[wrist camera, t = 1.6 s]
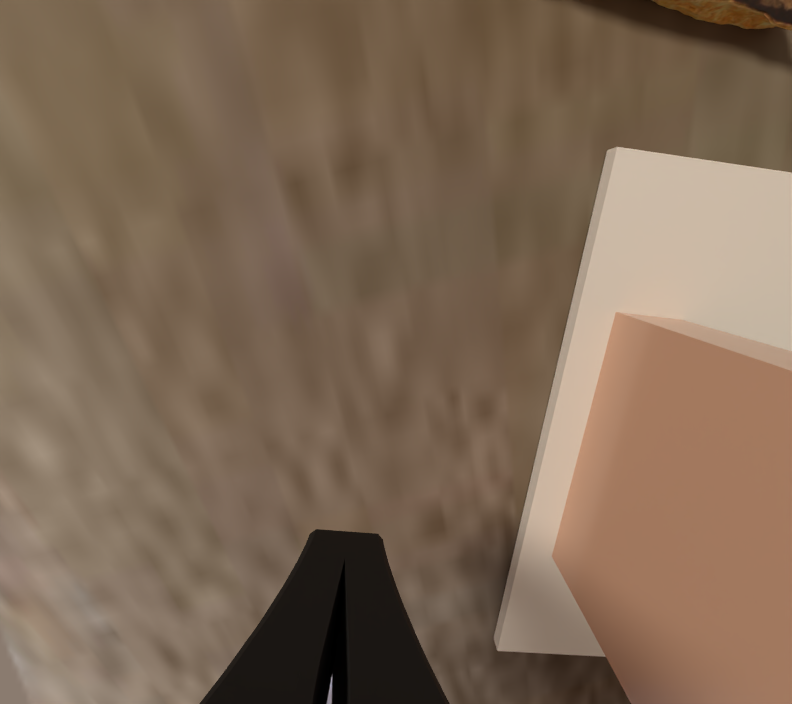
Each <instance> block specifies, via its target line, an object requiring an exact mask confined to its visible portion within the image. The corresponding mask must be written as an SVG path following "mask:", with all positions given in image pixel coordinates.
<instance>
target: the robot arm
mask: <svg viewBox="0 0 792 704" xmlns="http://www.w3.org/2000/svg"><path fill="white" fill-rule="evenodd" d="M200 704H449V702H448V700H447V698H446V696H445V694H444V692H443V690H442V688H441V686H440V684H439V682H438V680H437V678H436V676H435V674H434V672H433V670H432V668H431V666H430V664H429V662H428V660H427V658H426V656H425V654H424V651H423V649H422V647H421V645H420V643H419V640H418V638H417V636H416V634H415V631H414V629H413V626H412V624H411V622H410V619H409V617H408V615H407V612H406V610H405V608H404V605H403V603H402V600H401V597H400V595H399V592H398V589H397V587H396V584H395V581H394V578H393V575H392V572H391V569H390V566H389V563H388V559H387V556H386V552H385V548H384V544H383V539H382V538H381V537H380V536H379V534H372V533H359V532H345V531H332V530H318V529H316V530H315V531H313V532H312V533H311V534H310V535H309V538H308V540H307V543H306V545H305V547H304V549H303V551H302V553H301V555H300V557H299V559H298V561H297V563H296V565H295V566H294V568H293V570H292V572H291V573H290V575H289V577H288V579H287V580H286V582H285V584H284V585H283V587H282V589H281V590H280V592H279V593H278V595H277V596H276V598H275V599H274V601H273V603H272V604H271V606H270V607H269V609H268V610H267V612H266V614H265V615H264V617H263V618H262V620H261V621H260V623H259V624H258V626H257V627H256V629H255V630H254V631H253V633H252V634H251V635H250V637H249V638H248V640H247V641H246V642H245V644H244V645H243V647H242V648H241V649H240V651H239V652H238V654H237V655H236V656H235V658H234V659H233V660H232V662H231V663H230V665H229V666H228V667H227V669H226V670H225V671H224V673H223V674H222V675H221V677H220V678H219V679H218V681H217V682H216V683H215V685H214V686H213V687H212V688H211V690H210V691H209V692H208V694H207V695H206V696H205V697H204V699H203V700H202V701H201V702H200Z"/></svg>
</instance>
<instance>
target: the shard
mask: <svg viewBox="0 0 792 704" xmlns="http://www.w3.org/2000/svg"><path fill="white" fill-rule="evenodd" d="M651 1H654V2H656V3H657V4H658V5H660V6H663V7H666V8H668V9H673V10H678V11H680V12H681V13H683V14H684V15H689V16H691V17H693V18H694V19H696V20H703V21H707V22H714V23H716V24H719V25H722V24H731V25H736V26H739V27H741V28H743V29H765V28H774V27H776V26H777V27H780V28H783V29H787V30H792V0H651Z"/></svg>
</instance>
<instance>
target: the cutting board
mask: <svg viewBox="0 0 792 704" xmlns="http://www.w3.org/2000/svg"><path fill="white" fill-rule="evenodd" d="M616 312H622V313H630V314H639V315H647V316H656V317H664V318H673V319H681V320H685V321H689V322H692V323H696V324H699V325H703V326H706V327H710V328H713V329H717V330H720V331H723V332H727V333H730V334H734V335H737V336H741V337H744V338H748V339H751V340H755V341H758V342H762V343H765V344H769V345H772V346H775V347H779V348H782V349H786V350H789V351H792V173H790V172H784V171H777V170H770V169H763V168H757V167H750V166H743V165H736V164H730V163H723V162H716V161H709V160H703V159H696V158H689V157H682V156H676V155H669V154H662V153H655V152H649V151H642V150H635V149H628V148H622V147H616V148H613V149H610V150H607V153H606V158H605V162H604V166H603V170H602V175H601V179H600V183H599V188H598V192H597V196H596V201H595V205H594V209H593V213H592V218H591V222H590V226H589V231H588V235H587V239H586V243H585V248H584V252H583V256H582V261H581V265H580V269H579V274H578V278H577V282H576V286H575V291H574V295H573V299H572V304H571V308H570V312H569V316H568V321H567V325H566V329H565V334H564V338H563V342H562V347H561V351H560V355H559V359H558V364H557V368H556V372H555V377H554V381H553V385H552V389H551V394H550V398H549V402H548V407H547V411H546V415H545V420H544V424H543V428H542V432H541V437H540V441H539V445H538V450H537V454H536V458H535V462H534V467H533V471H532V475H531V480H530V484H529V488H528V493H527V497H526V501H525V505H524V510H523V514H522V518H521V523H520V527H519V531H518V535H517V540H516V544H515V548H514V553H513V557H512V561H511V566H510V570H509V574H508V578H507V583H506V587H505V591H504V596H503V600H502V604H501V608H500V613H499V617H498V621H497V626H496V630H495V634H494V641H495V645H496V648H497V651H509V652H528V653H546V654H565V655H583V656H602V657H606V656H605V654H604V652H603V650H602V649H601V647H600V645H599V643H598V641H597V639H596V638H595V636H594V634H593V632H592V630H591V628H590V626H589V625H588V623H587V621H586V619H585V617H584V615H583V613H582V612H581V610H580V608H579V606H578V604H577V602H576V600H575V599H574V597H573V595H572V593H571V591H570V589H569V587H568V586H567V584H566V582H565V580H564V578H563V576H562V574H561V573H560V571H559V569H558V567H557V565H556V563H555V561H554V560H553V558H552V553H553V550H554V546H555V542H556V538H557V534H558V531H559V527H560V523H561V519H562V515H563V511H564V508H565V504H566V500H567V496H568V492H569V489H570V485H571V481H572V477H573V473H574V469H575V466H576V462H577V458H578V454H579V450H580V447H581V443H582V439H583V435H584V431H585V427H586V424H587V420H588V416H589V412H590V408H591V405H592V401H593V397H594V393H595V389H596V385H597V382H598V378H599V374H600V370H601V366H602V363H603V359H604V355H605V351H606V347H607V343H608V340H609V336H610V332H611V328H612V324H613V321H614V317H615V313H616Z"/></svg>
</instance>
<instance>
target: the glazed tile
mask: <svg viewBox="0 0 792 704" xmlns="http://www.w3.org/2000/svg"><path fill="white" fill-rule="evenodd" d="M552 558H553V560H554V561H555V563H556V565H557V567H558V569H559V571H560V573H561V574H562V576H563V578H564V580H565V582H566V584H567V586H568V587H569V589H570V591H571V593H572V595H573V597H574V599H575V600H576V602H577V604H578V606H579V608H580V610H581V612H582V613H583V615H584V617H585V619H586V621H587V623H588V625H589V626H590V628H591V630H592V632H593V634H594V636H595V638H596V639H597V641H598V643H599V645H600V647H601V649H602V650H603V652H604V654H605V656H606V658H607V660H608V662H609V663H610V665H611V667H612V669H613V671H614V673H615V675H616V676H617V678H618V680H619V682H620V684H621V686H622V688H623V689H624V691H625V693H626V695H627V697H628V699H629V701H630V702H631V704H792V351H789V350H786V349H782V348H779V347H775V346H772V345H769V344H765V343H762V342H758V341H755V340H751V339H748V338H744V337H741V336H737V335H734V334H730V333H727V332H723V331H720V330H717V329H713V328H710V327H706V326H703V325H699V324H696V323H692V322H689V321H685V320H681V319H673V318H664V317H656V316H647V315H639V314H630V313H622V312H616V313H615V317H614V321H613V324H612V328H611V332H610V336H609V340H608V343H607V347H606V351H605V355H604V359H603V363H602V366H601V370H600V374H599V378H598V382H597V385H596V389H595V393H594V397H593V401H592V405H591V408H590V412H589V416H588V420H587V424H586V427H585V431H584V435H583V439H582V443H581V447H580V450H579V454H578V458H577V462H576V466H575V469H574V473H573V477H572V481H571V485H570V489H569V492H568V496H567V500H566V504H565V508H564V511H563V515H562V519H561V523H560V527H559V531H558V534H557V538H556V542H555V546H554V550H553V553H552Z"/></svg>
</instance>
